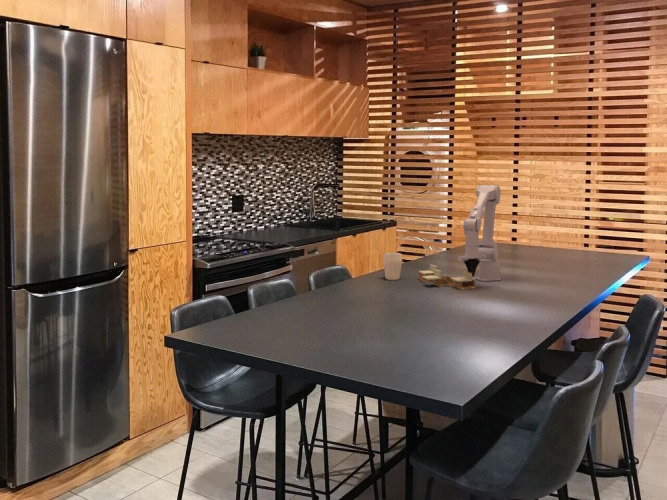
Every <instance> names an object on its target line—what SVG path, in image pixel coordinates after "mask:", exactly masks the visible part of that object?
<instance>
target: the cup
mask: <svg viewBox="0 0 667 500" xmlns="http://www.w3.org/2000/svg"><path fill="white" fill-rule="evenodd" d="M382 257H383V258H382V263H383V270H384V275H385V280H388V281H398V280H400V279H401V278H400V277H401V273H402V272H401V271H402V263H403V254H402V253H400V252H385V253H383V255H382Z"/></svg>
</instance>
